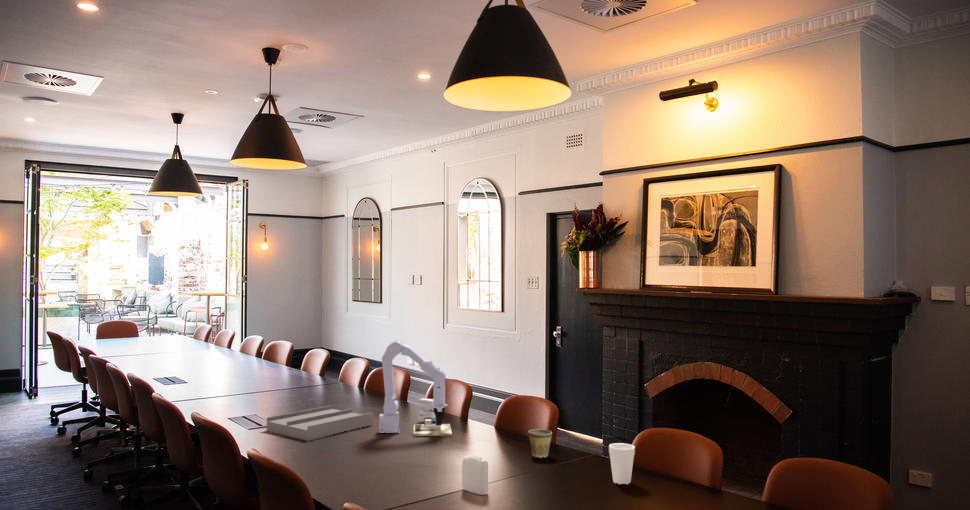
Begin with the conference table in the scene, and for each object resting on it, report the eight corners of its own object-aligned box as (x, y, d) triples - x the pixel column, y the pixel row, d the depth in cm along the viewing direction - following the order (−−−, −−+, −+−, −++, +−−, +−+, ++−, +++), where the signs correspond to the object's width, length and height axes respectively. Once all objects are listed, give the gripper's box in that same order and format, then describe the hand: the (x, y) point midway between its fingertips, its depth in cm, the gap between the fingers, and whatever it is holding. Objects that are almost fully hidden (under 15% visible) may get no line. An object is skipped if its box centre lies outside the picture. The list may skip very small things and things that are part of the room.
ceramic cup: (550, 459, 267) (550, 435, 267) (526, 458, 269) (526, 433, 269) (553, 451, 279) (553, 428, 280) (530, 450, 281) (531, 427, 282)
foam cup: (616, 476, 244) (616, 441, 245) (639, 481, 238) (639, 445, 239) (604, 482, 237) (604, 446, 237) (627, 487, 231) (627, 451, 232)
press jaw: (425, 427, 315) (425, 420, 315) (425, 426, 318) (425, 419, 318) (431, 427, 315) (431, 420, 315) (431, 426, 318) (431, 419, 318)
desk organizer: (266, 431, 313) (266, 417, 313) (331, 418, 345) (331, 405, 345) (308, 441, 294) (308, 426, 294) (372, 426, 326) (372, 412, 327)
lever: (415, 430, 309) (415, 418, 309) (414, 429, 312) (414, 417, 312) (441, 429, 311) (441, 417, 312) (440, 428, 314) (441, 416, 315)
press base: (413, 436, 303) (413, 425, 304) (413, 427, 323) (414, 416, 323) (451, 436, 305) (451, 424, 305) (449, 426, 325) (449, 415, 325)
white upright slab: (460, 489, 227) (460, 454, 228) (468, 487, 230) (469, 452, 231) (481, 496, 220) (481, 460, 220) (490, 493, 223) (490, 457, 224)
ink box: (436, 422, 336) (437, 399, 336) (431, 424, 331) (431, 400, 332) (423, 420, 340) (424, 397, 340) (418, 422, 336) (418, 399, 336)
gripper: (448, 398, 306) (448, 427, 305) (446, 392, 320) (446, 420, 319) (433, 398, 305) (433, 427, 304) (432, 393, 319) (432, 420, 319)
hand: (439, 423), depth 312 cm, fingers open, 4 cm apart
